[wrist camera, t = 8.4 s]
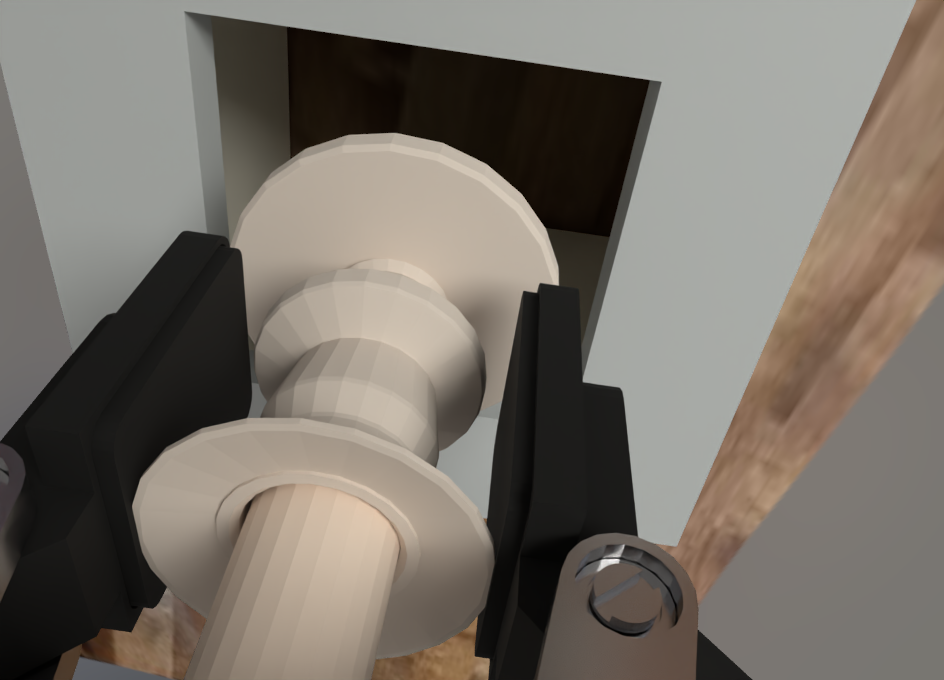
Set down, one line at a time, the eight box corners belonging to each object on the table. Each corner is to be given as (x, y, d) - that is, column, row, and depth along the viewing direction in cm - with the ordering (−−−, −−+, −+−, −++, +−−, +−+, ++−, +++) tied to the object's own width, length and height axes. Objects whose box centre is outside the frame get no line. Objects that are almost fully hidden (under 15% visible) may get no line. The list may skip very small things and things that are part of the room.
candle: (614, 199, 11) (775, 1431, 3) (497, 439, 14) (414, 1372, 6) (262, 78, 11) (-789, 1197, 2) (220, 356, 14) (-301, 1267, 5)
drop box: (238, -259, 19) (-87, -283, 9) (762, -182, 19) (971, -127, 9) (263, 212, 27) (99, 461, 17) (634, 267, 27) (676, 546, 17)
